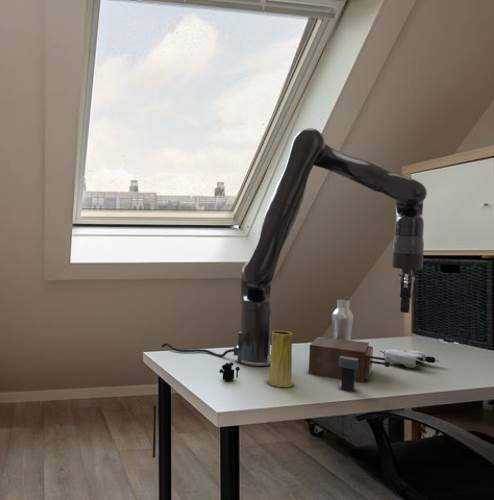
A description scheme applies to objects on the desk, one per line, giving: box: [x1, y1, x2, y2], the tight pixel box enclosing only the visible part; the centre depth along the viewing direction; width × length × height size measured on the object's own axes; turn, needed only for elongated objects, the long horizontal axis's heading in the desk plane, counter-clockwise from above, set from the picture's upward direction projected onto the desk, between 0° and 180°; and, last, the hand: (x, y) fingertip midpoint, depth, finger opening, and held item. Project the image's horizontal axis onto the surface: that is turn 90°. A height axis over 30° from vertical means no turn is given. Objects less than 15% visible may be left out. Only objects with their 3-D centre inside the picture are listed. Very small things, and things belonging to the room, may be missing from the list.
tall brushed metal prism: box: [339, 356, 359, 393], centre depth 127 cm, size 4×2×8 cm, turn 59°
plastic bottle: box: [331, 299, 355, 341], centre depth 157 cm, size 6×7×20 cm
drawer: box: [364, 345, 392, 380], centre depth 141 cm, size 18×13×7 cm
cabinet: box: [308, 336, 370, 383], centre depth 143 cm, size 15×15×9 cm
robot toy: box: [378, 349, 440, 369], centre depth 154 cm, size 12×4×15 cm
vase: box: [268, 330, 293, 388], centre depth 130 cm, size 6×6×14 cm
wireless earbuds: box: [219, 361, 241, 382], centre depth 133 cm, size 7×2×5 cm, turn 117°
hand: (404, 312), depth 136 cm, fingers closed
